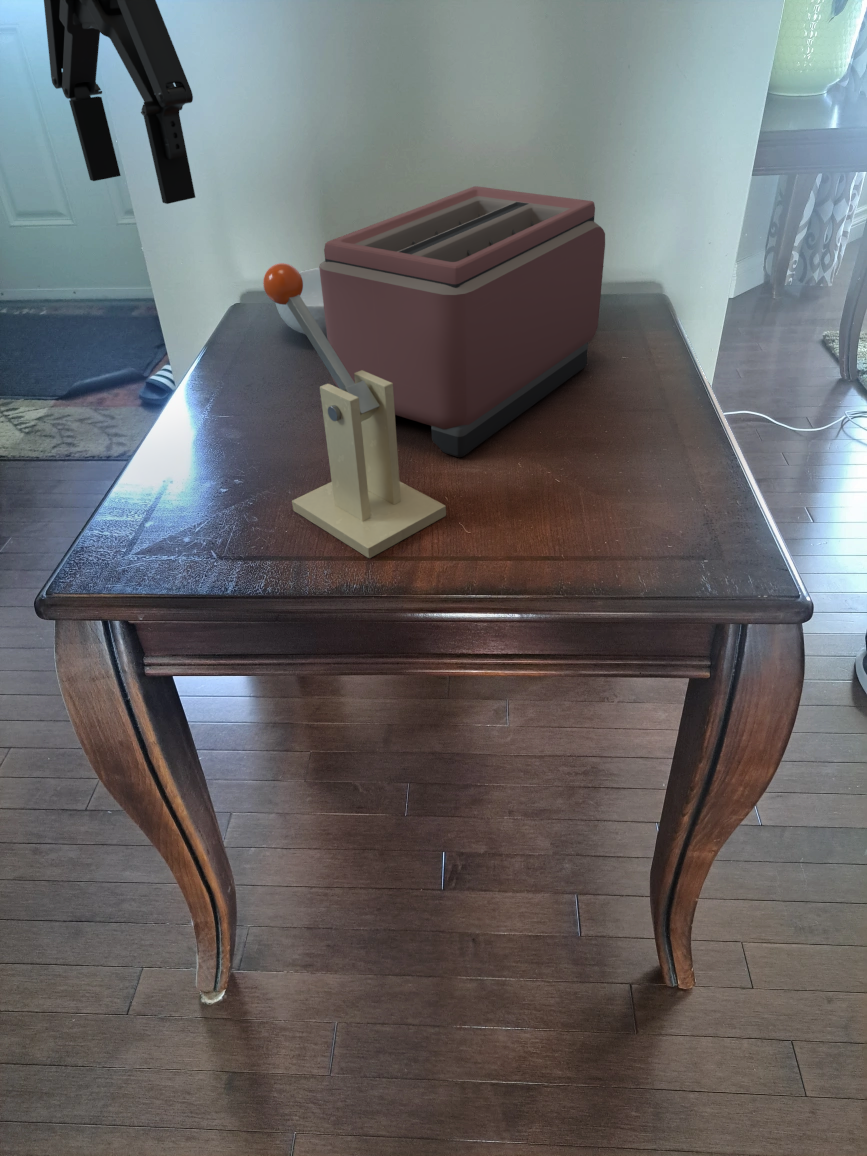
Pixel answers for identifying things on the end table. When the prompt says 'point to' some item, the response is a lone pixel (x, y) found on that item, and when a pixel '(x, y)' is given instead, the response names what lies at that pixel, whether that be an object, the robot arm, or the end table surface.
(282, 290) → the lever
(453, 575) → the end table surface
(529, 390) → the toaster
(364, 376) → the bracket
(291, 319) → the cereal bowl
